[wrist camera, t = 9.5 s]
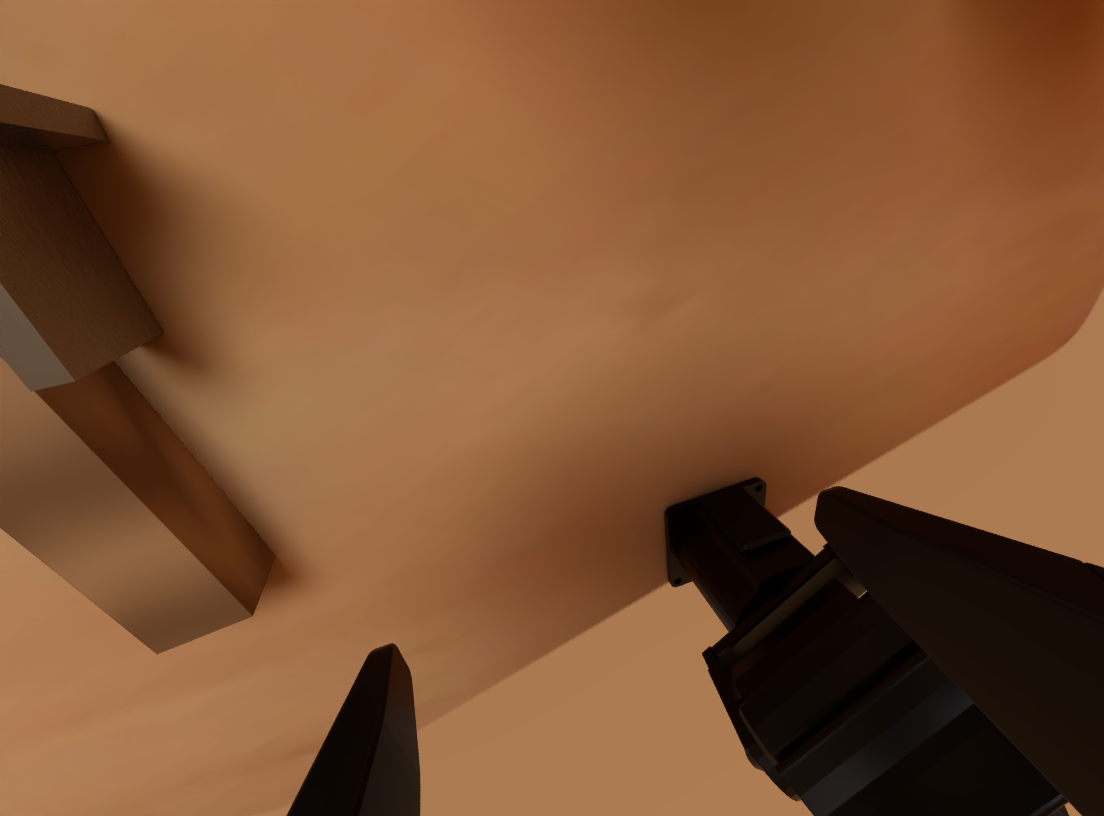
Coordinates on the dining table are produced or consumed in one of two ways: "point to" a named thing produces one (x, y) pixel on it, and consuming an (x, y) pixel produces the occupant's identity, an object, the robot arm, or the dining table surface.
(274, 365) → the dining table surface
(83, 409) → the rail
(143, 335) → the bracket
